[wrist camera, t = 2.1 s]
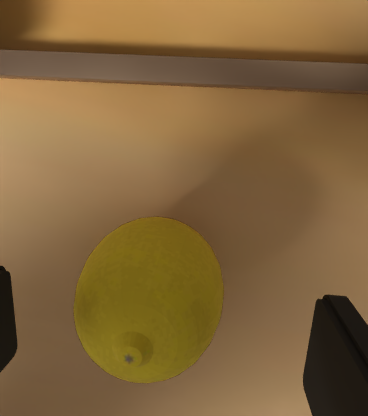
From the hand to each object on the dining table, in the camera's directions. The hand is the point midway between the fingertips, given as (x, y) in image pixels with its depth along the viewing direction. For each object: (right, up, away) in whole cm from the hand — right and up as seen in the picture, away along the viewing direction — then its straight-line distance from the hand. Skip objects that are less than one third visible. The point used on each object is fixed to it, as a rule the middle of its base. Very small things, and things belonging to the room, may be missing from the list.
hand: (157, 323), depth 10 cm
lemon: (0, +1, +7) cm, 7 cm away
